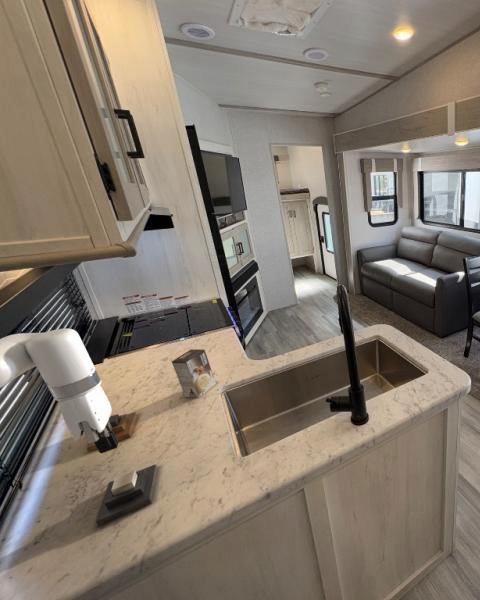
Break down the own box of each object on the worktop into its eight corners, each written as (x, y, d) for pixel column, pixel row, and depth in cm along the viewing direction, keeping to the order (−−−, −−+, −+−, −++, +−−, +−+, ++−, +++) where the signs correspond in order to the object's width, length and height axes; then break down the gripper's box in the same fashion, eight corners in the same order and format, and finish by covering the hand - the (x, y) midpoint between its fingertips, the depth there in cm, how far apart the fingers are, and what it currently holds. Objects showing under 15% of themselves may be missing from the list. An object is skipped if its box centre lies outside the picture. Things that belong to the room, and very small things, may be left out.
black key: (101, 431, 96) (98, 426, 95) (104, 423, 99) (102, 418, 98) (117, 426, 98) (115, 420, 97) (120, 418, 101) (118, 413, 100)
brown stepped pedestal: (89, 453, 92) (83, 443, 91) (100, 429, 102) (95, 419, 101) (131, 438, 97) (126, 428, 96) (137, 416, 107) (133, 407, 105)
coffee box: (202, 383, 124) (191, 348, 118) (216, 384, 123) (205, 348, 117) (184, 398, 115) (170, 361, 110) (199, 399, 114) (186, 361, 109)
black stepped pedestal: (99, 528, 71) (92, 516, 69) (111, 488, 80) (105, 477, 79) (152, 504, 75) (147, 493, 74) (158, 469, 85) (153, 459, 84)
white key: (114, 496, 74) (111, 490, 73) (118, 484, 77) (114, 478, 77) (135, 488, 76) (132, 482, 75) (137, 476, 79) (135, 470, 78)
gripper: (64, 374, 71) (97, 436, 77) (37, 410, 59) (78, 479, 65) (106, 363, 75) (135, 423, 81) (88, 395, 63) (123, 462, 69)
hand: (109, 448), depth 73 cm, fingers closed
